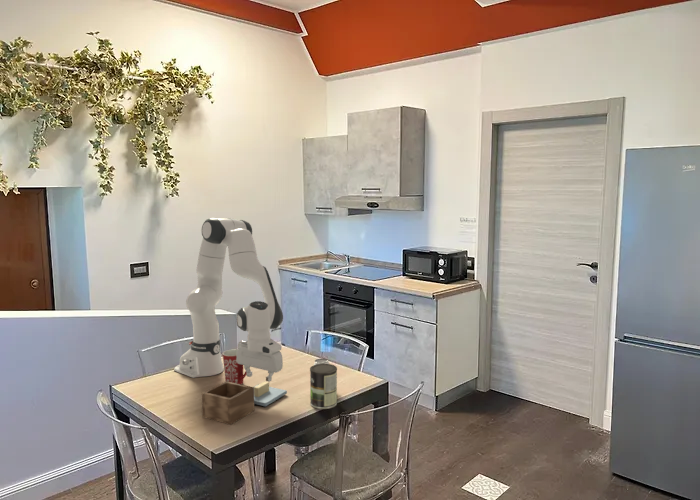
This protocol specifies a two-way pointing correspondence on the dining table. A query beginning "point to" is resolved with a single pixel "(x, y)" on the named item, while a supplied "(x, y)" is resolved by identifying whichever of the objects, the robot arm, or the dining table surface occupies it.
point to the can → (321, 361)
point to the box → (228, 402)
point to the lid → (266, 394)
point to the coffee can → (323, 386)
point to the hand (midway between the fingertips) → (259, 378)
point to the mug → (233, 367)
